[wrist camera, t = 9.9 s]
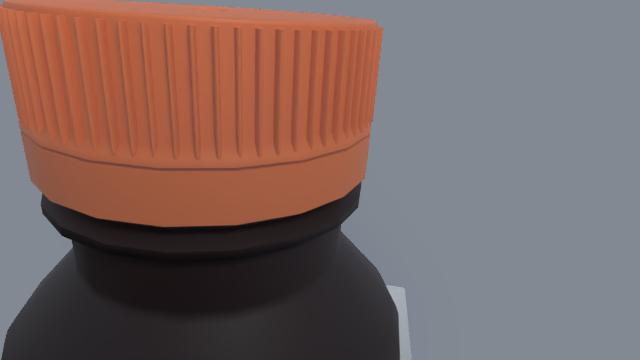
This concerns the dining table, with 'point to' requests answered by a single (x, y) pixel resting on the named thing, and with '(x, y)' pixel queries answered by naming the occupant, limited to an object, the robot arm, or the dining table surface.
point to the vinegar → (197, 181)
